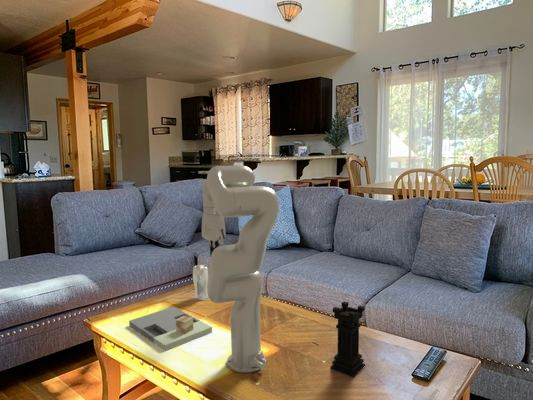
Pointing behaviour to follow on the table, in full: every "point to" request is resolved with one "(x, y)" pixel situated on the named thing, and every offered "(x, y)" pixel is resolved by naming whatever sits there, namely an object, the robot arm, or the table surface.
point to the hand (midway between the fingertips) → (214, 256)
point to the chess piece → (348, 340)
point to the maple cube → (184, 324)
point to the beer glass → (200, 281)
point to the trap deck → (168, 328)
